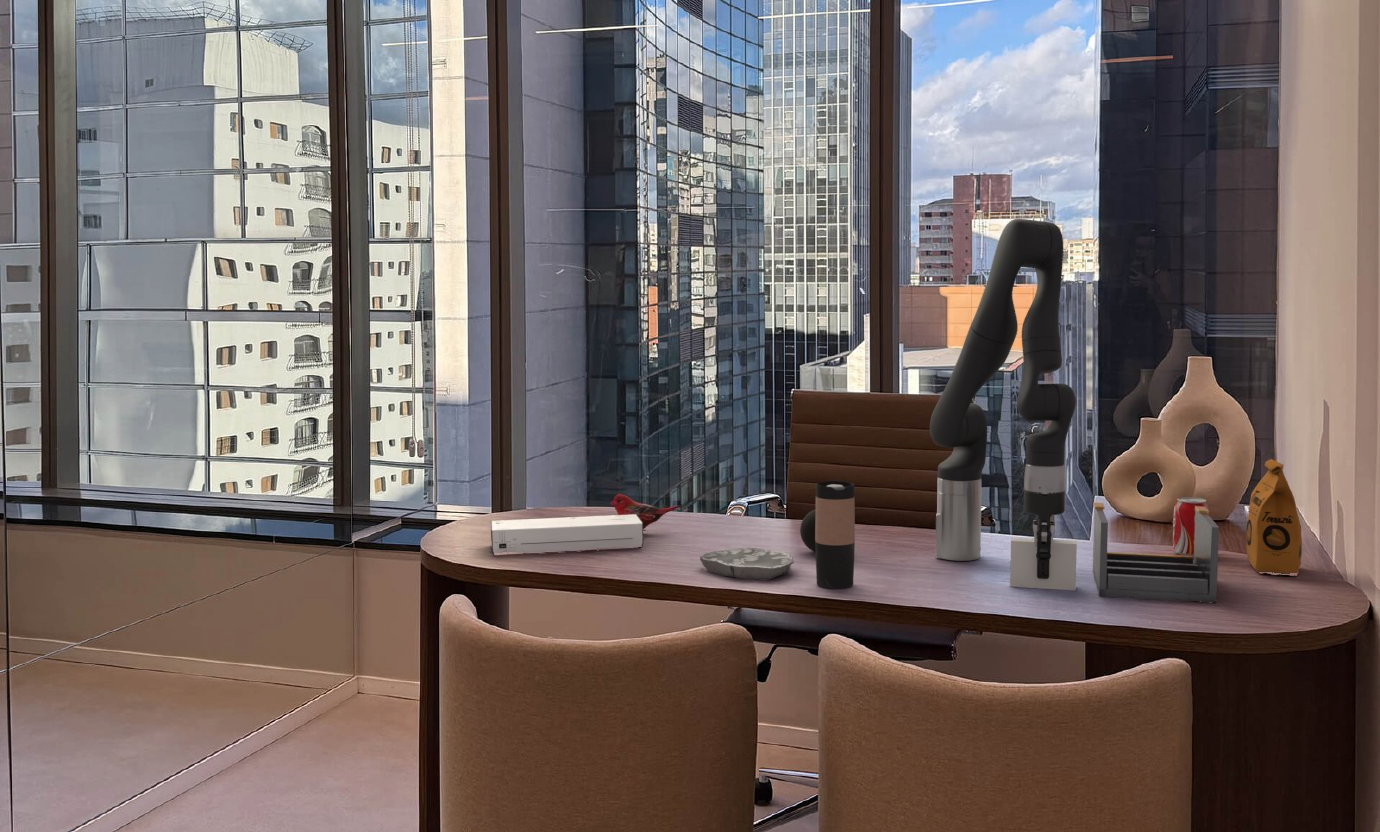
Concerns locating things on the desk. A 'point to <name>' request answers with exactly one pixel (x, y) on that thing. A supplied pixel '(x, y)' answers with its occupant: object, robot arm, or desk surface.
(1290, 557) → the coffee package
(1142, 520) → the desk surface
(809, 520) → the speaker
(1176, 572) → the rack
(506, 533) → the laminator
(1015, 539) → the panel
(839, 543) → the travel mug
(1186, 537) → the soda can
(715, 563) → the brain slice
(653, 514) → the decorative bird figurine
